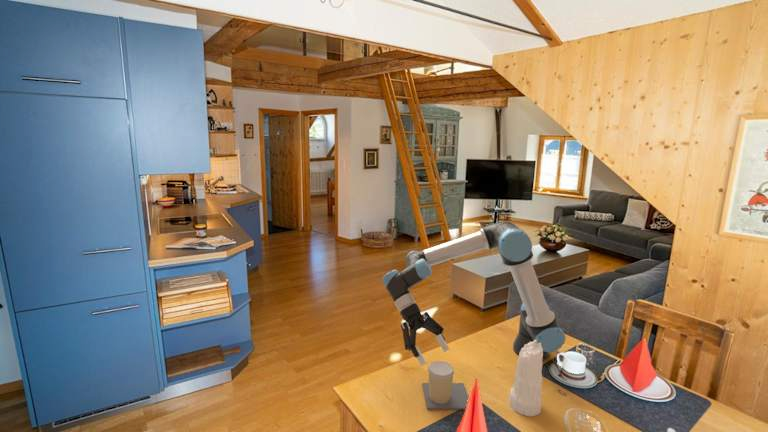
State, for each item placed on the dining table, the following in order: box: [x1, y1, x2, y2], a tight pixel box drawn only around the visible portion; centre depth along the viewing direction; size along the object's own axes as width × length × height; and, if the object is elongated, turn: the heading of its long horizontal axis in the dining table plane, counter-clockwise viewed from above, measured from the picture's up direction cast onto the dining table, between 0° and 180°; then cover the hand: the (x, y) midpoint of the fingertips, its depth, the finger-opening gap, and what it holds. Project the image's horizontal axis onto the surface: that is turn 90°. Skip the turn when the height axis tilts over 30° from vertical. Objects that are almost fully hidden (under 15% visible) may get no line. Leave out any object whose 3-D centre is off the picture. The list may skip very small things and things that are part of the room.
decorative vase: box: [508, 340, 543, 417], centre depth 141 cm, size 11×11×25 cm
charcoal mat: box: [422, 382, 469, 411], centre depth 147 cm, size 16×14×1 cm
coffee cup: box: [427, 360, 455, 404], centre depth 145 cm, size 9×9×12 cm
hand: (435, 357), depth 149 cm, fingers open, 13 cm apart
